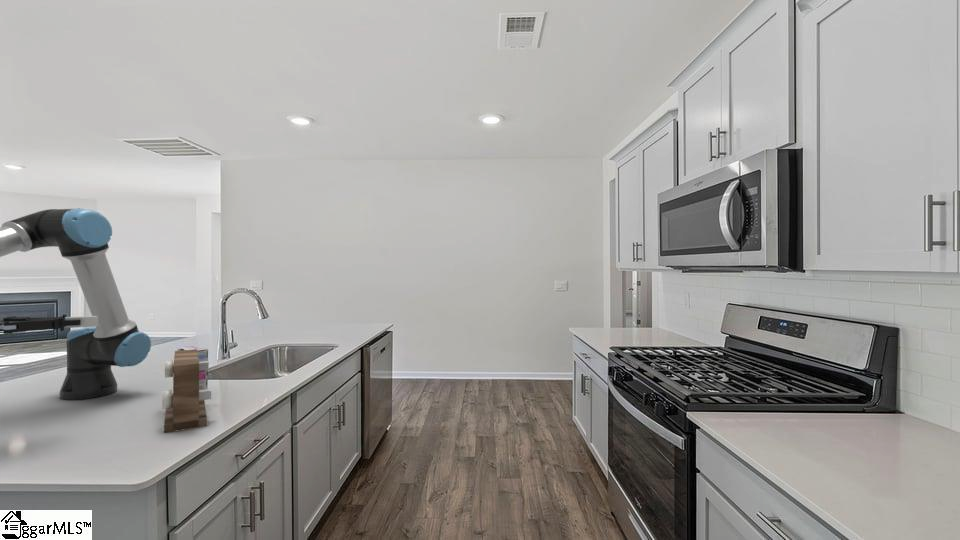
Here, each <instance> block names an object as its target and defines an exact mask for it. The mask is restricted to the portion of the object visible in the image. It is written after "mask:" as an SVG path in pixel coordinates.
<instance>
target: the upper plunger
mask: <svg viewBox="0 0 960 540" xmlns="http://www.w3.org/2000/svg"><path fill="white" fill-rule="evenodd" d="M173 365H174V360H165V362H164V378H173ZM202 370H208V371H209V370H210V369H209V360H208V361H202V362H199V371H202Z"/></svg>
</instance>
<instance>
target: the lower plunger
mask: <svg viewBox="0 0 960 540" xmlns="http://www.w3.org/2000/svg"><path fill="white" fill-rule="evenodd" d="M211 399H212V389H211V388H207V389H204V390H199V400H204V401H207V400H211ZM172 404H173V390H172V389H166V390H162V406H161V407H162V410H166V409H167V408H171V407H172Z"/></svg>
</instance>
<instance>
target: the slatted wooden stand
mask: <svg viewBox="0 0 960 540" xmlns="http://www.w3.org/2000/svg"><path fill="white" fill-rule="evenodd" d="M173 364H174V365H173V377H172V378H173V380H172V382H173V387H172V389H173V390H172V393H173V404H172V407H171V408H167V409H165V413H164V414H165V415H164V422H163V423H164V424H163V433H164V432H165V433H171V432H170V431H172V432H177V431H176V430H178V431H183V430H182V429H184V430H190V428H191V429H197V428H203V427H208V416H207V409H206V400H199V359H198V352H197V349H194V350H181V351H178V350H174V355H173ZM202 426H203V427H202ZM196 427H197V428H196Z"/></svg>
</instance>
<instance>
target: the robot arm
mask: <svg viewBox="0 0 960 540" xmlns="http://www.w3.org/2000/svg"><path fill="white" fill-rule="evenodd" d="M111 225H112V224H111V223H110V221H109V220H108V219H107V217H105V215H103V214H102V213H100V212H99V211H96V210H93V209H86V208H79V207H78V208H60V209H56V208H53V209H44V210H39V211H36V212H33V213H30V214H27V215H24V216H21V217H18V218H15V219H13V220H8V221H5V222H3V223H2V224H1V227H0V258H2V257H3V256H7V255H9V254H13V253H16V252H22V253H25V252H29V251H32V250H36V249H39V248H45V247H46V248H47V247H48V248H51V247H55V248H56V247H57V248H58V250H59V252H60V255H61V257H63V258H65V259H67V260H69V261H70V262H71V265H72V268H73V270H74V273H75V275H76V278H77V280H78V283H79V285H80V288H81V290H82V294H83V296H84V298H85V300H86V303H87V307H88V309H89V311H90V314H91V315H87V316H67V314H62V316H44V317H43V316H40V317H39V316H37V317H36V316H35V317H31V316H19V317H18V316H16V315H14V316H13V315H12V316H6V317H4V318H3V319H0V332H3V334H4V335H6V334H7V335H8V334H10V335H11V334H14V333H25V332H32V331H33V332H34V331H47V330H48V331H49V330H55V331H56V330H59V329H60V332H63V331H65V329H70V328H73V329H72V330H69V332H67V336H66V341H65V344H66V374H65V378H64V380H63V383H62V385H61V386H60V387H61V388H60V389H59V398H60V399H61V400H67V401H69V400H71V401H72V400H73V401H74V400H86V399H93V398H99V397H103V396H107V395H111V394H113V393H115V392H117V391H118V383H117V379H116V377H115V375H114V373H113V371H112V366H115V367H120V368H125V367H134V366H138V365H139V364H141V363H142V362H143V361H144V360H145V359H146V358H147V357H148V355H149V352H151V347H152V341H151V338H150V336H149V335H148V334H147V333H145V332H143V331H140V330H139V327H138V325H137V323H136V321H133V320H131V319H129V315H128V314H127V311H126V308H125V305H124V303H123V301H122V296H121V294H120V291H119V289H118V285H117V283H116V280H115V278H114V274H113V272H112V269H111V267H110V263H109V261H108V258H107V256H106V252H107V251H109V248H110V246H109V242H110V240H112V238H111V237H112V236H113V228H112V226H111ZM74 328H79V329H74Z"/></svg>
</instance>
